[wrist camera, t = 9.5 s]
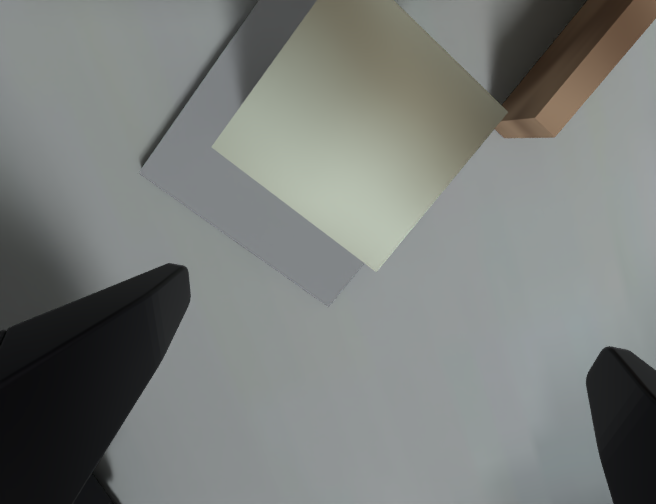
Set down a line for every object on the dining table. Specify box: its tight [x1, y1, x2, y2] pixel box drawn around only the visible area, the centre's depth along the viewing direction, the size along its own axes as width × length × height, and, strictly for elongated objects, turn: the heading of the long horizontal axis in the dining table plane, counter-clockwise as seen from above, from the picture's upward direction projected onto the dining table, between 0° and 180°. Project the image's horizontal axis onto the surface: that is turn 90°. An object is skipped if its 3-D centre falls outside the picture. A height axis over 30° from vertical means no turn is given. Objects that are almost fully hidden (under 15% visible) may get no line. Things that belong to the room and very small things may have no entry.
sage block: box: [212, 0, 508, 272], centre depth 15 cm, size 5×5×10 cm
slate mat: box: [139, 0, 364, 307], centre depth 20 cm, size 11×11×1 cm
